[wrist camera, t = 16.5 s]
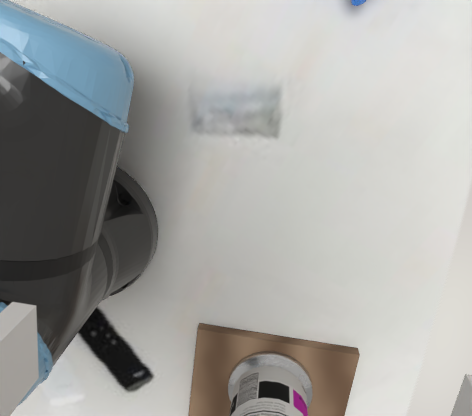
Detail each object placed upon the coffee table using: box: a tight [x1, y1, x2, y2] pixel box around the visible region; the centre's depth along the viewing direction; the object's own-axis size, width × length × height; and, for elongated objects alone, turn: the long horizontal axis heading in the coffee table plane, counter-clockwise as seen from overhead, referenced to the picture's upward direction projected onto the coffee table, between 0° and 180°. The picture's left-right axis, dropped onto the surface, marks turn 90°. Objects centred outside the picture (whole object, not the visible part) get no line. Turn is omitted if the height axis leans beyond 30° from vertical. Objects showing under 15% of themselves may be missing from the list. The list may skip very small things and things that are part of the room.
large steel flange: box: [228, 351, 312, 409], centre depth 50 cm, size 10×10×1 cm
